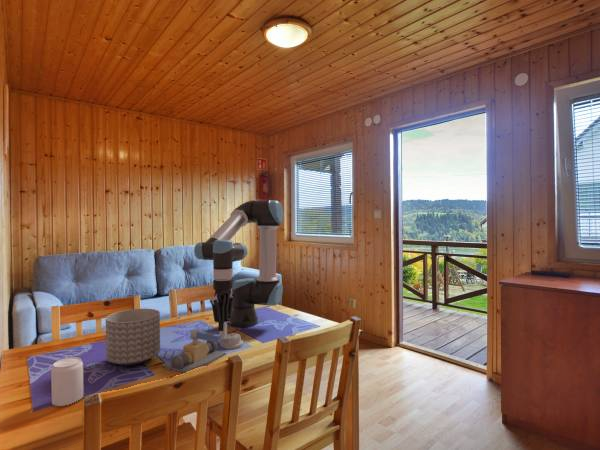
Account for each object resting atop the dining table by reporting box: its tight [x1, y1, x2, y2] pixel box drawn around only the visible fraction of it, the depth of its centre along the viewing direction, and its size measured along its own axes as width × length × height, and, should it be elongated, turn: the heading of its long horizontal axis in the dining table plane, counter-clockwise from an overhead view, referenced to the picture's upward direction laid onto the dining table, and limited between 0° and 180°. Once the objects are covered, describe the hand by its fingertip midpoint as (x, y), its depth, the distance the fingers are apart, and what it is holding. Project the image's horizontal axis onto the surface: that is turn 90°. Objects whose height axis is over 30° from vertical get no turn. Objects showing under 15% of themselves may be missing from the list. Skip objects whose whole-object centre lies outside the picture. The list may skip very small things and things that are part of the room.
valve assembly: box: [161, 338, 227, 374], centre depth 137 cm, size 20×14×9 cm
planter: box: [105, 308, 161, 366], centre depth 136 cm, size 19×19×18 cm
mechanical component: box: [219, 332, 244, 350], centre depth 153 cm, size 10×4×10 cm
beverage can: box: [50, 356, 84, 407], centre depth 107 cm, size 8×8×12 cm
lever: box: [190, 329, 222, 344], centre depth 134 cm, size 14×3×2 cm, turn 64°
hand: (223, 338), depth 139 cm, fingers closed
